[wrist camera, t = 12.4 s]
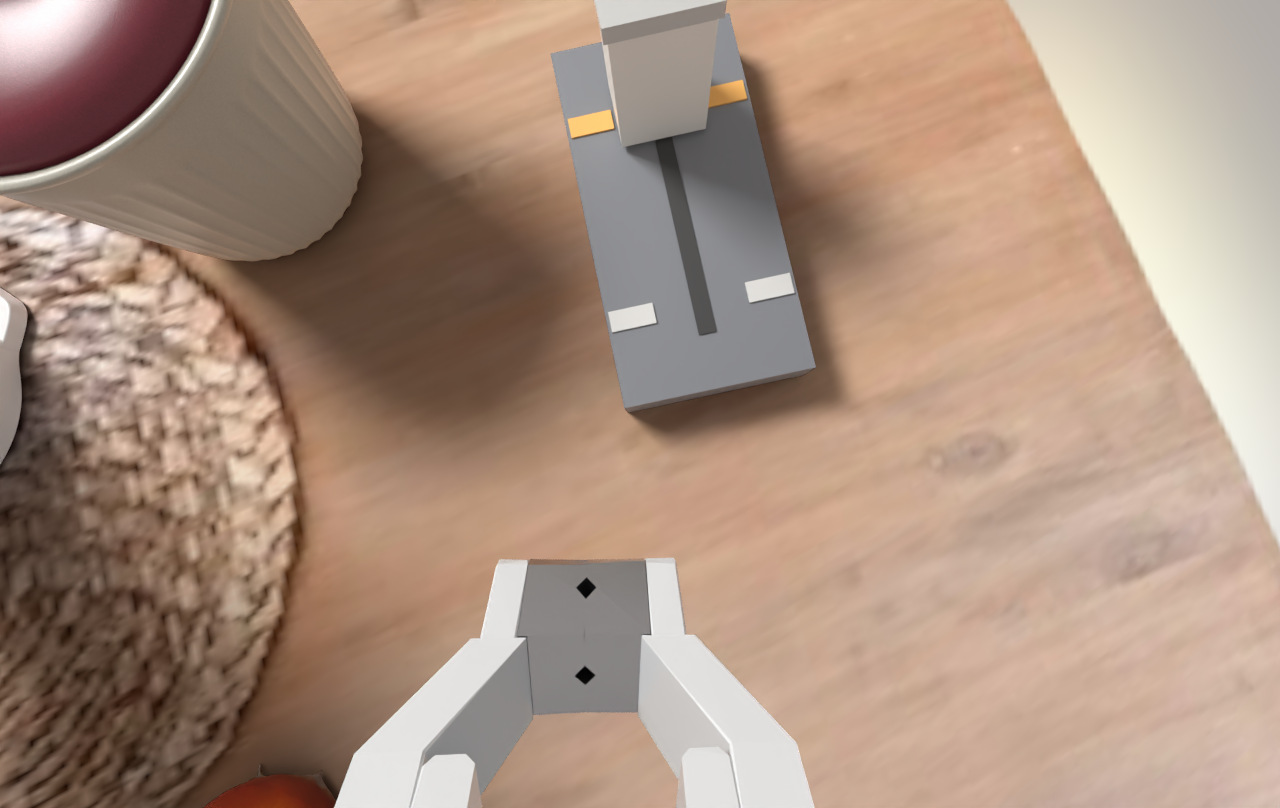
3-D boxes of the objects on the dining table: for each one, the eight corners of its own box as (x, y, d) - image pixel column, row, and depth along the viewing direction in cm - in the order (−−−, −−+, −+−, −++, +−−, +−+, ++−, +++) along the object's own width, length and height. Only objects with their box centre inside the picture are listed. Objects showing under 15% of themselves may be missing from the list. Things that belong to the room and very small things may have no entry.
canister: (342, -2, 41) (-1, -494, 20) (458, 224, 39) (213, -57, 18) (104, 122, 41) (-495, -242, 20) (208, 355, 39) (-333, 228, 18)
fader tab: (710, 131, 35) (726, 0, 25) (619, 151, 35) (601, 28, 25) (693, 62, 36) (704, -93, 26) (604, 82, 36) (580, -65, 26)
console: (803, 375, 37) (816, 367, 34) (627, 412, 37) (624, 408, 34) (724, 47, 39) (729, 11, 36) (559, 84, 39) (550, 52, 36)
